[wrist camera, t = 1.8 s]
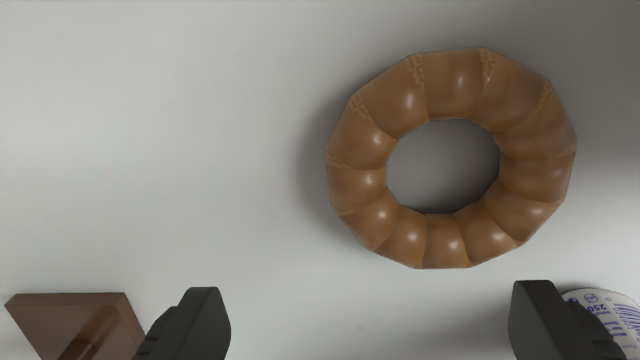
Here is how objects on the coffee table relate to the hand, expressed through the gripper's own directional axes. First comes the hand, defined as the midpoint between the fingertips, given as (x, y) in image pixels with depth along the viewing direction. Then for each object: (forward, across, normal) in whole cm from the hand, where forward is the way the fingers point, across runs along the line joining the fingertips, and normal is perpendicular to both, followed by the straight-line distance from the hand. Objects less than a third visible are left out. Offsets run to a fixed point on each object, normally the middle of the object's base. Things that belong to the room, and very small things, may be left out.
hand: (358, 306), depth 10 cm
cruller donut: (+7, -4, 0) cm, 8 cm away
